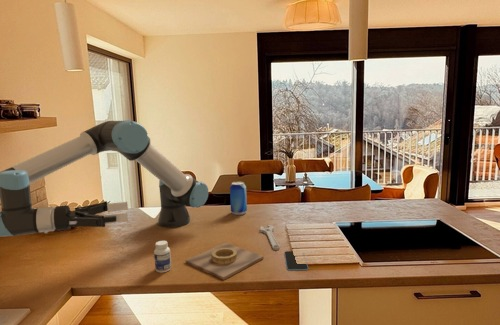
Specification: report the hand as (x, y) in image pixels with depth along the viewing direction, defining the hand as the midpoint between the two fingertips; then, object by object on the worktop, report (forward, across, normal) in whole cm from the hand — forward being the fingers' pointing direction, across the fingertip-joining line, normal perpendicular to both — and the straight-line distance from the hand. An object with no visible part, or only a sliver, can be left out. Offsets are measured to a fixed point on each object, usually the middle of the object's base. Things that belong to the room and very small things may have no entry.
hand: (127, 210), depth 114 cm
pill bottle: (+10, +1, -22) cm, 25 cm away
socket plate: (+32, +3, -22) cm, 39 cm away
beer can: (+54, -49, -21) cm, 76 cm away
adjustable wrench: (+55, -11, -22) cm, 60 cm away
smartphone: (+55, +13, -22) cm, 61 cm away
